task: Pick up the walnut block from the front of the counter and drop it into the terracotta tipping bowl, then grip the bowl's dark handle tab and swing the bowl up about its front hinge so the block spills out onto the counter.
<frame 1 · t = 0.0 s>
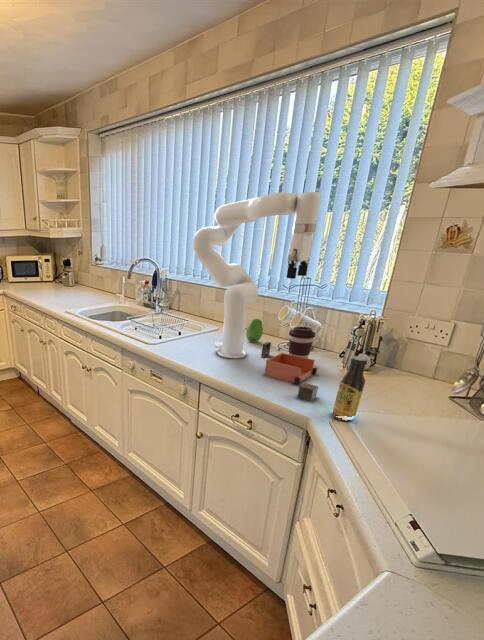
hand: (296, 277, 151), 37 cm above the countertop, tool pointing down, fingers open, 9 cm apart
avocado: (253, 342, 200), on the countertop
tub: (284, 360, 155), point 6 cm above the countertop, hinge at 0.0°
block: (306, 398, 136), on the countertop
sauce bottle: (343, 418, 122), on the countertop
wheel axle: (305, 379, 152), on the countertop
coffee cup: (297, 362, 170), on the countertop
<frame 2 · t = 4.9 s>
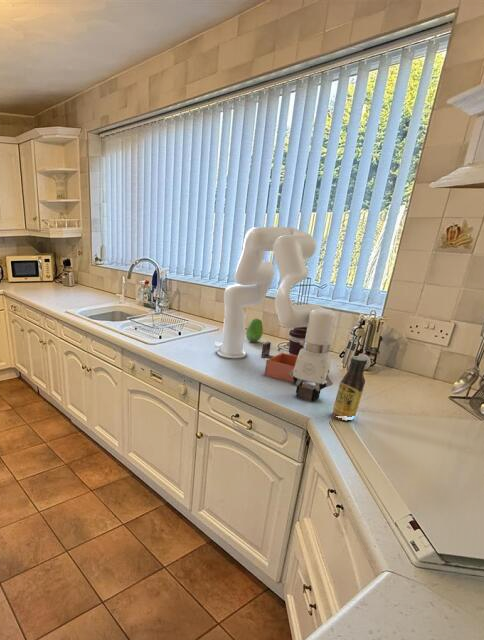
hand: (306, 397, 136), 0 cm above the countertop, tool pointing down, fingers closed on block, 4 cm apart
block: (306, 398, 136), on the countertop, touching gripper
everything else where it was.
when the fingers open (1 cm above the countertop, at t = 12.5 s): block stays where it is, resting on tub.
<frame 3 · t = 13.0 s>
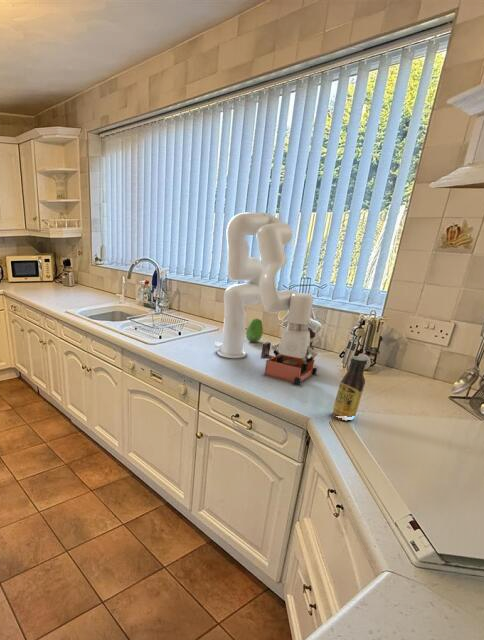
hand: (290, 369, 154), 3 cm above the countertop, tool pointing down, fingers open, 8 cm apart
tub: (284, 360, 155), point 6 cm above the countertop, hinge at -0.3°, touching block
block: (288, 373, 155), point 1 cm above the countertop, touching tub
everything else where it was.
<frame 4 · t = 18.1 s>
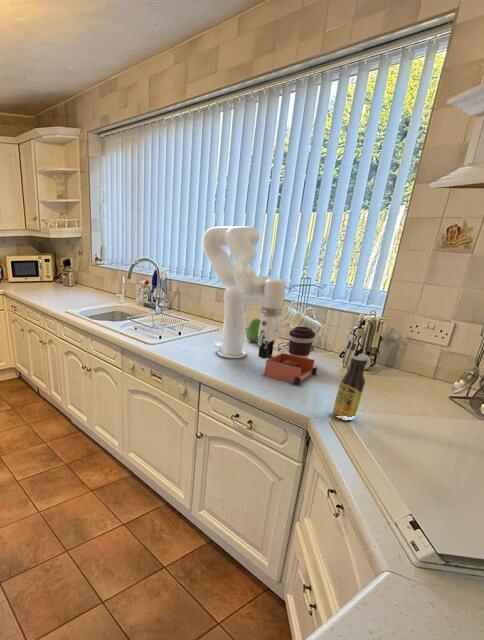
hand: (265, 355, 161), 6 cm above the countertop, tool pointing down, fingers closed on tub, 4 cm apart
tub: (284, 360, 155), point 6 cm above the countertop, hinge at -0.3°, touching block, gripper
everything else where it was.
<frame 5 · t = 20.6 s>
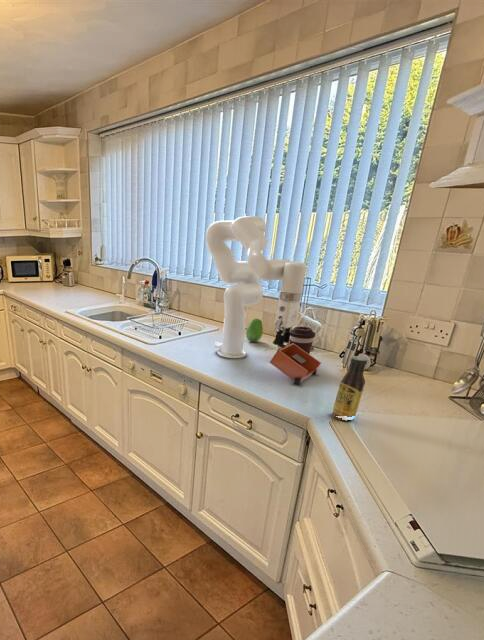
hand: (281, 342, 154), 13 cm above the countertop, tool pointing down, fingers closed on tub, 4 cm apart
tub: (294, 354, 152), point 9 cm above the countertop, hinge at 25.2°, touching block, gripper
block: (292, 367, 154), point 4 cm above the countertop, tilted 25°, touching tub
everything else where it was.
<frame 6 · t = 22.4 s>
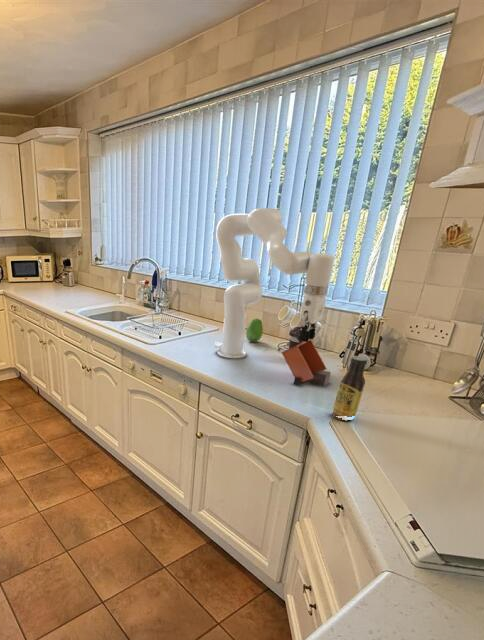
hand: (306, 339, 147), 16 cm above the countertop, tool pointing down, fingers closed on tub, 4 cm apart
tub: (307, 352, 148), point 11 cm above the countertop, hinge at 53.1°, touching gripper
block: (322, 372, 146), point 4 cm above the countertop, tilted 180°
everything else where it was.
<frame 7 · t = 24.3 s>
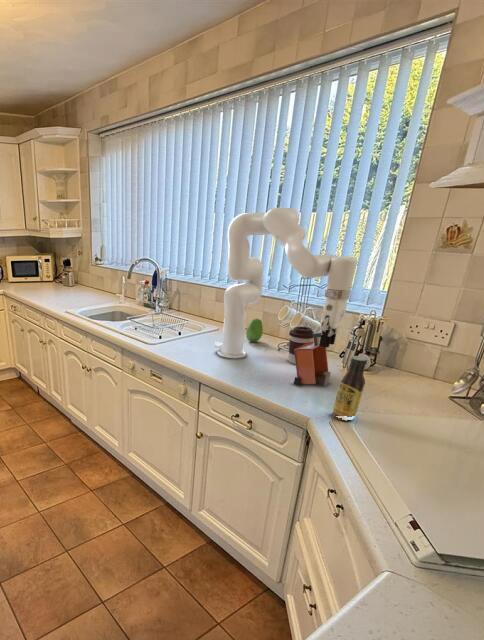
hand: (326, 344, 142), 15 cm above the countertop, tool pointing down, fingers closed on tub, 4 cm apart
tub: (317, 356, 146), point 10 cm above the countertop, hinge at 74.7°, touching gripper
everything else where it was.
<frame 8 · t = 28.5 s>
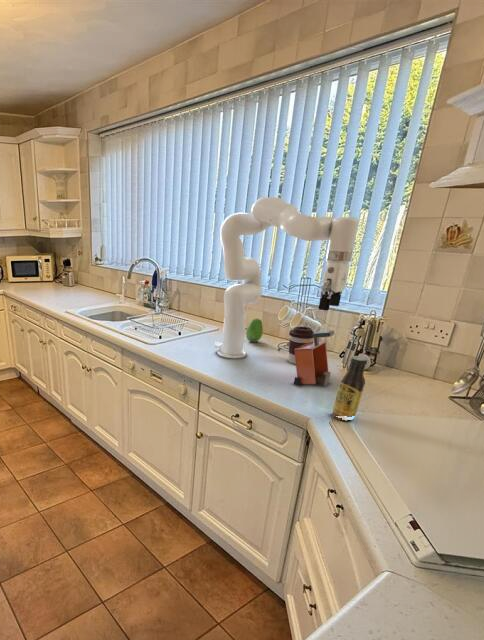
hand: (328, 307, 138), 28 cm above the countertop, tool pointing down, fingers open, 9 cm apart
tub: (318, 356, 146), point 10 cm above the countertop, hinge at 74.9°
everything else where it was.
at the end: tub reached +75° during the clip, +75° at the end; block inside the target area on the countertop beside the wheel axle (8.3 cm from its centre), point 4.5 cm above the countertop; block touching countertop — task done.
